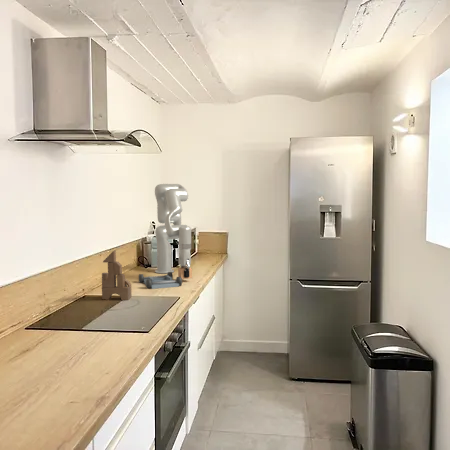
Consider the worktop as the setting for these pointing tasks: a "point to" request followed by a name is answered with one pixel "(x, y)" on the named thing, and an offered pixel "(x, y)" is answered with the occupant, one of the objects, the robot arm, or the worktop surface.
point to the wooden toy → (110, 280)
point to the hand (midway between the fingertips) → (185, 276)
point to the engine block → (181, 273)
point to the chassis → (160, 281)
